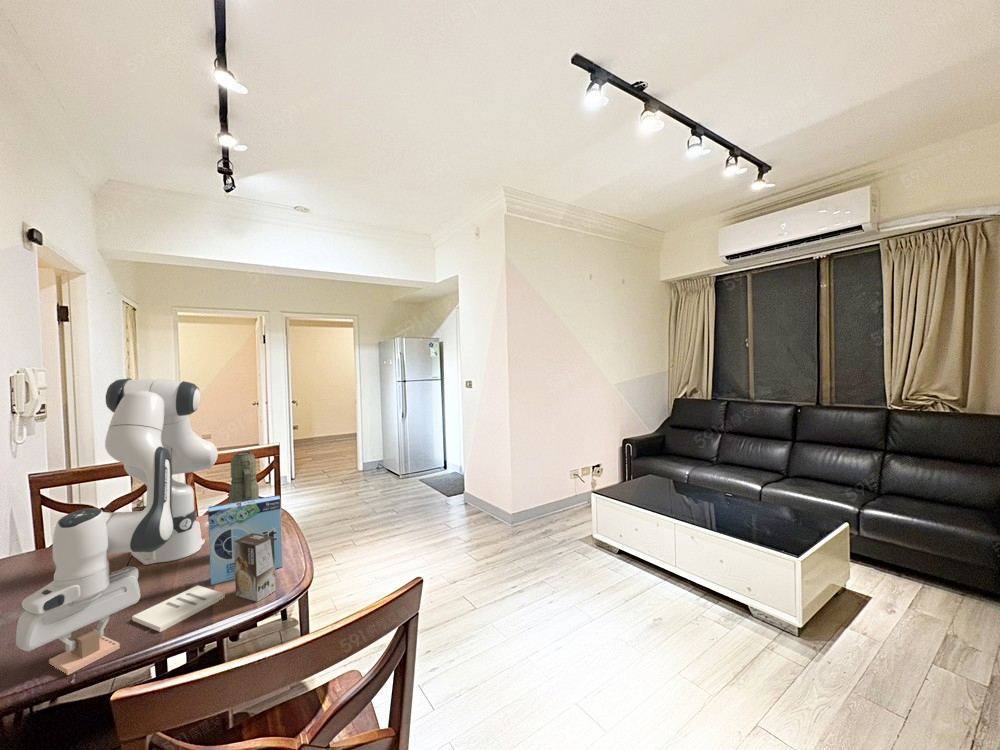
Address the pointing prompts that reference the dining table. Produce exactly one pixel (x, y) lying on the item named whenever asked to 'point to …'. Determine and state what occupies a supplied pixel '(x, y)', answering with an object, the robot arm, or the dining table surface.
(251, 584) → the coffee box
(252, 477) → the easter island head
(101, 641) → the peach base with block
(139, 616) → the ticket
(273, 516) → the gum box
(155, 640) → the dining table surface
